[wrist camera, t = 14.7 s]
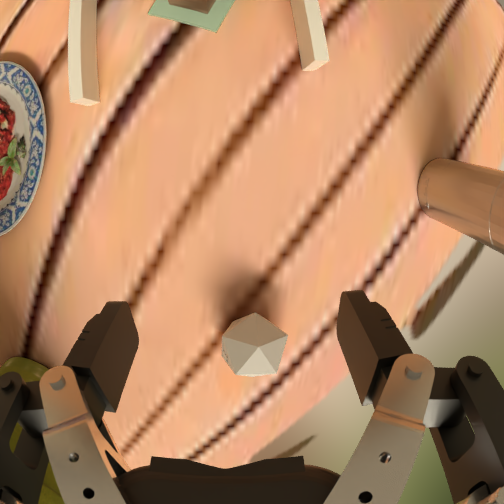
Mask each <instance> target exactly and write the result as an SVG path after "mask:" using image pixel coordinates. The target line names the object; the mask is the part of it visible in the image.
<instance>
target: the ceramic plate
mask: <svg viewBox="0 0 504 504" xmlns="http://www.w3.org/2000/svg"><path fill="white" fill-rule="evenodd" d="M46 137H47V130H46V115H45V109H44V103H43V99H42V96H41V93H40V90H39V88H38V85H37V83H36V82H35V80H34V78H33V77H32V75H31V74H30V73H29V72H28V71H27V70H26V69H25V68H24V67H22V66H21V65H19V64H17V63H14V62H10V61H0V236H2V235H4V234H6V233H7V232H9V231H10V230H12V229H13V228H14V227H15V226H16V225H17V224H18V223H19V222H20V221H21V219H22V218H23V217H24V215H25V214H26V212H27V210H28V209H29V207H30V205H31V203H32V201H33V199H34V196H35V194H36V191H37V188H38V185H39V182H40V179H41V175H42V170H43V166H44V160H45V152H46Z"/></svg>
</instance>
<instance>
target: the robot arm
mask: <svg viewBox="0 0 504 504" xmlns="http://www.w3.org/2000/svg"><path fill="white" fill-rule="evenodd" d="M418 198H419V203H420V205H421V208H422V210H423V211H424V212H425V214H426V215H428V216H429V217H430V218H433V219H435V220H437V221H439V222H441V223H443V224H445V225H447V226H449V227H451V228H453V229H455V230H457V231H459V232H461V233H463V234H465V235H467V236H469V237H471V238H473V239H475V240H477V241H479V242H481V243H483V244H485V245H487V246H489V247H490V248H492V249H494V250H496V251H498V252H500V253H502V254H504V171H501V170H497V169H492V168H488V167H484V166H479V165H475V164H470V163H465V162H461V161H455V160H450V159H444V158H438V159H434V160H432V161H431V162H429V163H428V164H427V165H426V167H425V168H424V170H423V171H422V174H421V176H420V179H419V184H418ZM337 337H338V341H339V344H340V346H341V349H342V352H343V354H344V357H345V360H346V362H347V365H348V368H349V371H350V373H351V376H352V379H353V381H354V384H355V387H356V390H357V393H358V395H359V399H360V402H361V404H362V406H364V405H370V404H373V406H374V409H375V411H374V413H373V415H372V417H371V419H370V421H369V424H368V426H367V428H366V430H365V432H364V434H363V436H362V438H361V440H360V442H359V444H358V446H357V447H356V449H355V451H354V453H353V455H352V457H351V459H350V460H349V462H348V464H347V466H346V467H345V469H344V471H343V473H342V474H341V475H339V474H337V473H335V472H333V471H331V470H328V469H325V468H321V467H318V466H313V465H304V459H303V456H298V457H288V458H277V459H265V460H261V461H257V462H254V463H250V464H246V465H242V466H238V467H233V468H228V469H222V468H217V467H213V466H209V465H205V464H201V463H198V462H194V461H190V460H187V459H173V458H162V457H153V456H152V457H151V463H150V465H148V466H143V467H139V468H136V469H133V470H131V469H130V467H129V466H128V464H127V463H126V462H125V460H124V459H123V457H122V455H121V453H120V451H119V449H118V447H117V445H116V443H115V441H114V439H113V437H112V435H111V433H110V431H109V429H108V427H107V425H106V423H105V421H104V419H103V418H102V417H103V414H104V411H108V412H115V413H116V410H117V407H118V404H119V401H120V398H121V395H122V392H123V389H124V386H125V383H126V380H127V377H128V374H129V371H130V368H131V366H132V363H133V360H134V357H135V354H136V352H137V349H138V344H139V337H138V332H137V329H136V326H135V323H134V320H133V317H132V314H131V310H130V307H129V305H128V303H127V302H126V301H109V302H107V303H106V304H105V306H104V308H103V309H102V311H101V313H100V314H96V315H95V316H94V317H93V318H92V319H90V320H89V321H88V322H87V324H86V325H85V327H84V329H83V331H82V333H81V334H80V336H79V337H78V340H77V341H76V342H75V344H74V346H73V348H72V349H71V351H70V353H69V355H68V357H67V358H66V360H65V362H64V364H63V366H56V367H53V368H51V369H49V370H48V371H46V372H45V373H44V374H43V376H42V377H41V380H40V381H32V382H25V381H24V380H23V378H22V377H21V376H20V374H19V373H17V372H13V371H12V372H7V373H5V374H3V375H2V376H0V504H38V502H39V498H40V493H41V489H42V485H43V481H44V477H45V474H46V470H47V466H48V463H49V461H50V464H51V467H52V470H53V473H54V476H55V479H56V482H57V485H58V488H59V490H60V493H61V496H62V498H63V501H64V503H65V504H397V503H398V501H399V499H400V497H401V495H402V492H403V490H404V488H405V485H406V483H407V480H408V478H409V475H410V473H411V470H412V468H413V465H414V462H415V459H416V456H417V454H418V451H419V448H420V445H421V442H422V439H423V436H424V432H425V427H429V429H430V432H431V434H432V437H433V440H434V443H435V445H436V448H437V451H438V454H439V457H440V460H441V463H442V466H443V468H444V472H445V475H446V478H447V482H448V485H449V488H450V492H451V495H452V498H453V501H454V504H504V390H503V388H502V386H501V385H500V383H499V382H498V380H497V378H496V377H495V375H494V373H493V372H492V370H491V369H490V367H489V366H488V364H487V363H486V362H485V361H483V360H482V359H480V358H478V357H475V356H466V357H463V358H461V359H460V360H459V361H458V363H457V365H456V367H455V368H437V367H433V365H432V363H431V362H430V361H429V360H428V359H426V358H425V357H423V356H421V355H418V354H413V353H412V351H411V349H410V347H409V346H408V344H407V342H406V341H405V339H404V337H403V336H402V334H401V332H400V331H399V329H398V328H396V324H395V323H394V321H393V320H392V318H391V316H390V315H389V313H388V312H387V310H386V309H385V308H384V307H382V306H381V305H380V304H378V303H377V302H370V301H369V299H368V298H367V296H366V294H365V293H364V291H363V290H355V291H345V292H342V294H341V298H340V306H339V313H338V319H337ZM466 415H467V417H468V419H469V421H470V423H471V425H470V423H469V421H468V419H467V417H466ZM17 422H18V423H19V425H20V426H21V427H22V428H23V429H22V431H21V434H20V436H19V439H18V442H17V444H16V447H15V450H14V453H12V451H11V449H10V444H9V443H10V438H11V436H12V433H13V431H14V428H15V426H16V423H17ZM471 426H472V428H473V430H474V432H473V430H472V428H471ZM474 433H475V434H474Z"/></svg>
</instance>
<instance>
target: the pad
mask: <svg viewBox="0 0 504 504" xmlns="http://www.w3.org/2000/svg"><path fill="white" fill-rule="evenodd" d="M234 2H235V0H216V1H215V3H214V4H213V6H212V8H211V9H210V11H209V13H208V14H205V13H201V12H198V11H194V10H190V9H186V8H182V7H178V6H173V5H169V2H168V0H156V1H155V3H154V4H153V6H152V7H151V9H150V11H149V12H148V15H151V16H156V17H161V18H165V19H169V20H173V21H177V22H181V23H185V24H189V25H192V26H196V27H199V28H203V29H206V30H209V31H212V32H215V33H217V31H218V29H219V27H220V25H221V24H222V22H223V20H224V18H225V17H226V15H227V13H228V12H229V10H230V8H231V6H232V5H233V3H234Z"/></svg>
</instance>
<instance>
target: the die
mask: <svg viewBox="0 0 504 504" xmlns="http://www.w3.org/2000/svg"><path fill="white" fill-rule="evenodd" d="M287 337H288V335H287V334H286V333H285V332H283V331H282V330H281V329H279V328H278V327H277V326H275V325H274V324H273V323H272V322H270V321H269V320H267V319H265V318H264V317H262V316H261V315H259V314H257V313H256V312H255V313H252V314H250V315H247V316H245V317H242V318H240V319H237V320H235V321H233V322H232V323H231V325H230V326H229V327H228V329H227V330H226V332H225V333H224V334H223V336H222V357H223V358H224V360H225V361H226V362H227V364H228V365H229V366H230V368H231V369H232V370H233V372H234V373H235V374H236V375H243V376H251V377H253V376H261V375H268V374H275V373H277V370H278V367H279V364H280V361H281V357H282V354H283V351H284V347H285V344H286V341H287Z"/></svg>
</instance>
